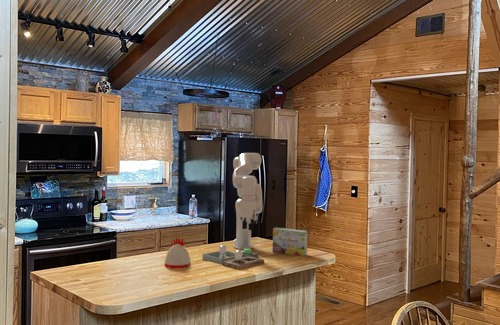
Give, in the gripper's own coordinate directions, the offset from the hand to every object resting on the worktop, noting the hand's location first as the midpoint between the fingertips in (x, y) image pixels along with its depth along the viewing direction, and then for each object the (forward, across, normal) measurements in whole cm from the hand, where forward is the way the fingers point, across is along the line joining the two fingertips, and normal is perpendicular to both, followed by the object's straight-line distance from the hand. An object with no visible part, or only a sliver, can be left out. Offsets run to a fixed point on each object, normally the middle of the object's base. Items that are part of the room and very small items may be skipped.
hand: (247, 229), depth 282 cm
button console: (+17, 0, 0) cm, 17 cm away
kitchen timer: (+18, -15, -39) cm, 45 cm away
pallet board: (+17, +11, -14) cm, 25 cm away
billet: (+17, -6, -14) cm, 23 cm away
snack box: (+18, +8, +29) cm, 35 cm away
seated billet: (+16, +11, -18) cm, 27 cm away
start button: (+16, 0, 0) cm, 16 cm away
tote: (+17, -6, -14) cm, 23 cm away
